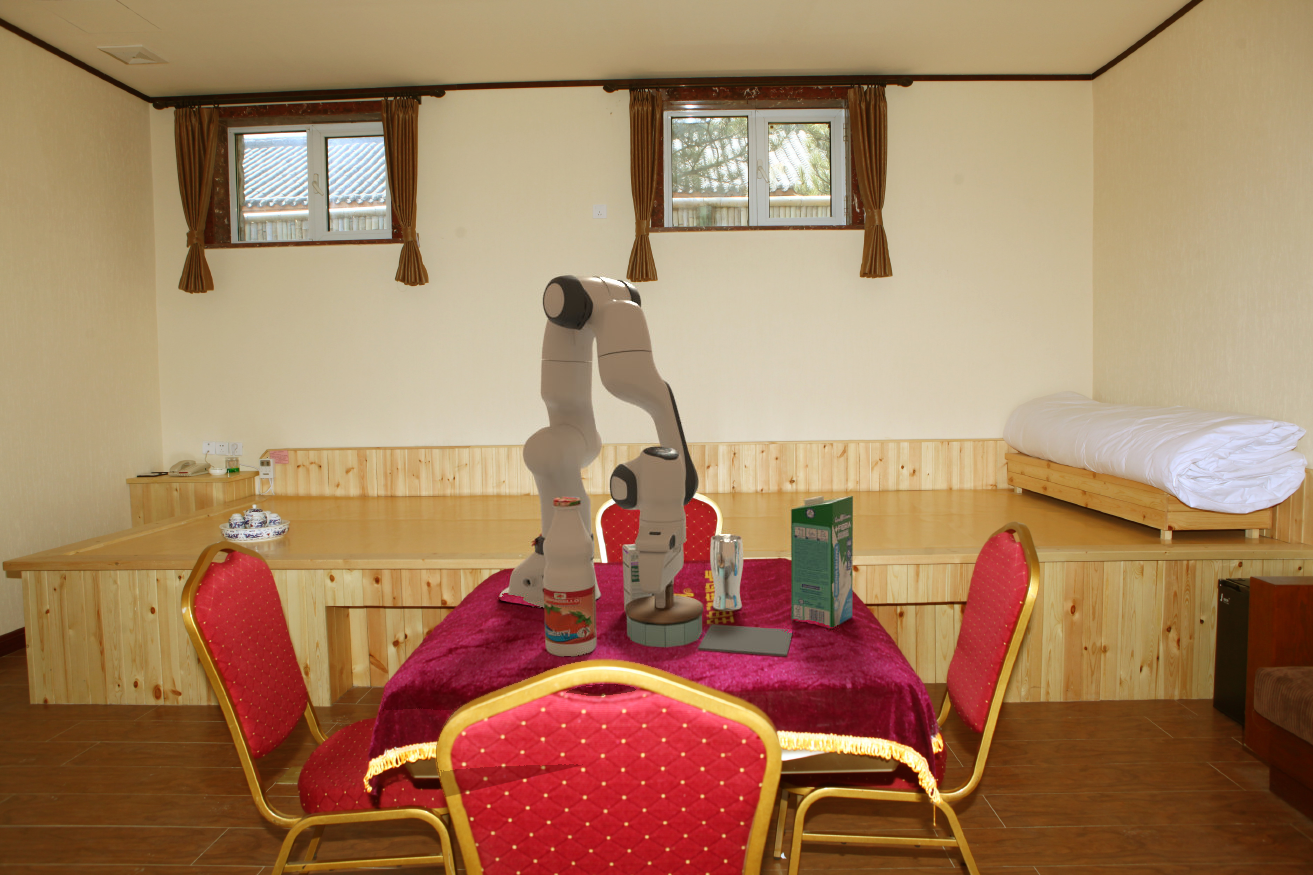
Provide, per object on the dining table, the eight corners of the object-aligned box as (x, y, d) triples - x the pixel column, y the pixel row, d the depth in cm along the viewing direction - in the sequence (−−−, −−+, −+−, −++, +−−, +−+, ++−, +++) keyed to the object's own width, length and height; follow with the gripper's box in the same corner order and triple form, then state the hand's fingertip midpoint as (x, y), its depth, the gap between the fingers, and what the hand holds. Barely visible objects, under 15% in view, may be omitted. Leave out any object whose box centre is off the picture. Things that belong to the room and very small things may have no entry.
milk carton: (812, 608, 166) (812, 491, 164) (852, 617, 160) (853, 495, 158) (791, 620, 159) (790, 497, 157) (832, 629, 153) (832, 502, 151)
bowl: (619, 643, 148) (618, 622, 147) (639, 619, 161) (639, 600, 161) (692, 649, 144) (692, 627, 144) (707, 624, 158) (707, 604, 157)
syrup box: (630, 619, 162) (628, 549, 160) (623, 610, 167) (622, 543, 166) (657, 616, 163) (655, 547, 162) (649, 607, 169) (648, 541, 167)
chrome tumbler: (742, 612, 164) (741, 541, 163) (708, 611, 166) (707, 540, 164) (745, 602, 171) (744, 534, 170) (713, 601, 173) (712, 533, 171)
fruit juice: (605, 642, 148) (601, 495, 146) (582, 660, 140) (578, 504, 137) (560, 637, 152) (556, 493, 149) (536, 654, 143) (530, 501, 140)
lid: (615, 620, 147) (614, 595, 146) (637, 596, 161) (637, 573, 161) (694, 625, 143) (694, 599, 143) (710, 601, 157) (709, 577, 157)
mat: (698, 649, 144) (698, 647, 144) (711, 626, 156) (711, 624, 156) (786, 656, 140) (786, 654, 140) (793, 631, 152) (793, 629, 152)
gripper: (660, 521, 161) (661, 587, 163) (632, 544, 142) (633, 619, 143) (690, 522, 160) (691, 588, 161) (666, 545, 140) (667, 621, 141)
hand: (664, 603), depth 152 cm, fingers closed on lid, 3 cm apart
